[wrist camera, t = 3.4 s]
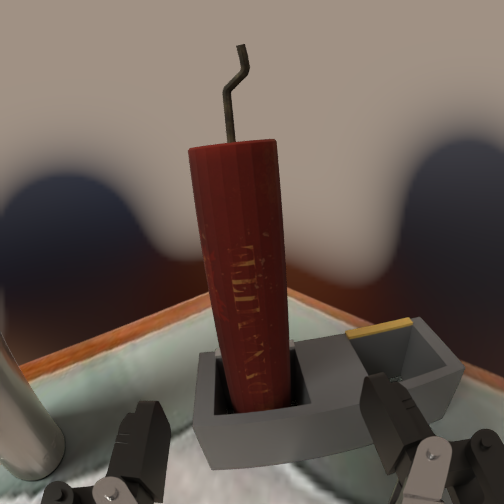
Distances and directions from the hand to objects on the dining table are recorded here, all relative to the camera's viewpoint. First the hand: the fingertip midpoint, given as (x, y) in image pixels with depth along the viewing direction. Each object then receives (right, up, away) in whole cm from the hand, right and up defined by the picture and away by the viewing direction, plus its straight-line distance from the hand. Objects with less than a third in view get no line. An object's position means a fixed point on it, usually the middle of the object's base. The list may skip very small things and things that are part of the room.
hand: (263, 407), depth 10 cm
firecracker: (+1, -11, +14) cm, 18 cm away
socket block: (+7, -10, +15) cm, 19 cm away
